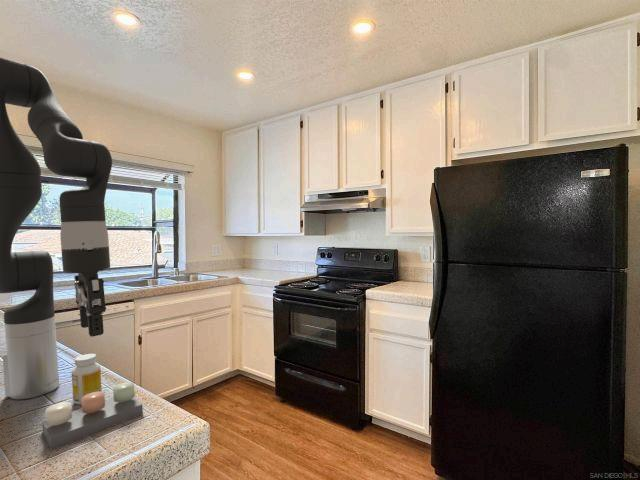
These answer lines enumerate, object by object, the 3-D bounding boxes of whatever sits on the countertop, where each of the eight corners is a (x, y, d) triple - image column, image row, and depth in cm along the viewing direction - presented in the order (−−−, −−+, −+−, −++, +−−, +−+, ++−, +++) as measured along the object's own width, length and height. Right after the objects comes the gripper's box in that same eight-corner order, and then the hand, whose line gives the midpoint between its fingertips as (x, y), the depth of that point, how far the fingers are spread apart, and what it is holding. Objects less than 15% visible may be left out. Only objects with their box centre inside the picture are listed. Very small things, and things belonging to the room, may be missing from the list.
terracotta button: (77, 413, 67) (76, 401, 67) (90, 403, 71) (89, 391, 71) (97, 413, 67) (96, 400, 67) (109, 402, 71) (108, 391, 71)
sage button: (109, 402, 71) (109, 390, 71) (120, 393, 75) (119, 382, 75) (128, 401, 71) (127, 390, 71) (138, 392, 75) (137, 381, 75)
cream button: (40, 426, 63) (40, 413, 63) (56, 414, 67) (56, 402, 67) (62, 425, 63) (61, 412, 63) (76, 414, 67) (76, 401, 67)
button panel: (51, 449, 61) (50, 438, 61) (42, 432, 67) (42, 421, 67) (142, 413, 72) (142, 404, 72) (128, 401, 77) (128, 392, 77)
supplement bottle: (68, 406, 76) (65, 362, 76) (82, 394, 82) (79, 353, 81) (94, 404, 77) (91, 360, 77) (106, 392, 82) (104, 351, 82)
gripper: (56, 247, 70) (62, 328, 70) (66, 248, 59) (74, 344, 60) (100, 244, 75) (106, 320, 75) (117, 245, 64) (123, 333, 65)
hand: (91, 330), depth 68 cm, fingers open, 8 cm apart
